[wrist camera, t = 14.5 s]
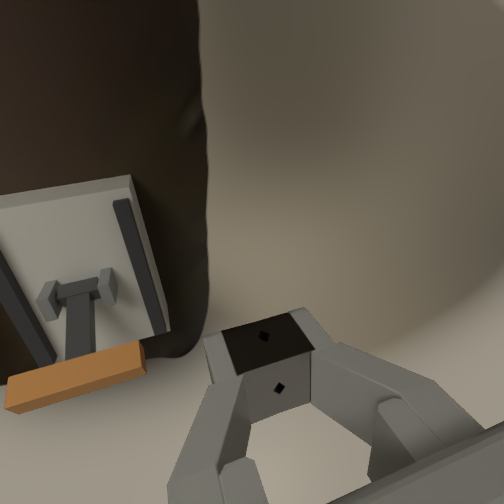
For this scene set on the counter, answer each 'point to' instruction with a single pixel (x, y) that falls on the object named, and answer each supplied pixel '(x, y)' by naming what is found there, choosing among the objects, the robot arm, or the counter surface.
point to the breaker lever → (76, 357)
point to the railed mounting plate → (24, 319)
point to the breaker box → (78, 257)
